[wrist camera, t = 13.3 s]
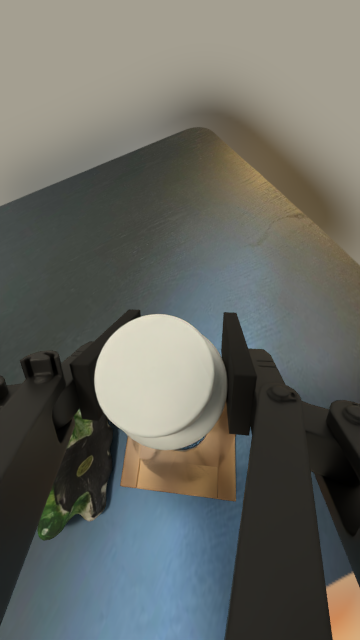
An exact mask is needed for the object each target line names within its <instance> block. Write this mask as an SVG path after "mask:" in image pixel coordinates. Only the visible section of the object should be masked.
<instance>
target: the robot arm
mask: <svg viewBox="0 0 360 640" xmlns="http://www.w3.org/2000/svg"><path fill="white" fill-rule="evenodd" d="M139 317H141V315H140V310H128V311H127V312H126V313H125V314H124V315H122V316H121V317H120V318H119V319H118V320H117V321H116V322H115V323H114V324H113V325H112V326H110V327H109V328H108V329H107V330H106V331H105V332H104V333H103V334H102V335H101V336H100V337H98V338H97V339H96V340H95V341H94V342H88V343H86V344H84V345H82V346H81V347H80V348H79V349H77V350H76V352H74V353H73V354H72V355H71V356H69V357H68V358H67V359H66V360H65V361H64V362H62V363H61V362H60V358H59V354H58V353H57V352H55V351H40V352H36V353H33V354H30V355H28V356H26V357H24V358H23V359H21V360H20V363H21V366H22V369H23V372H24V375H25V378H26V380H25V381H24V382H23V383H22V384H15V385H6V382H5V379H4V378H3V377H2V376H0V625H1V622H2V620H3V617H4V614H5V612H6V609H7V606H8V604H9V601H10V598H11V596H12V593H13V590H14V588H15V585H16V582H17V580H18V577H19V574H20V572H21V569H22V566H23V564H24V561H25V558H26V556H27V553H28V550H29V548H30V545H31V542H32V540H33V537H34V534H35V532H36V529H37V526H38V524H39V521H40V518H41V516H42V513H43V510H44V508H45V505H46V502H47V500H48V497H49V494H50V491H51V489H52V486H53V483H54V481H55V478H56V475H57V473H58V470H59V467H60V465H61V462H62V459H63V457H64V454H65V451H66V449H67V446H68V443H69V441H70V438H71V435H72V433H73V430H74V427H75V419H74V415H75V414H76V413H77V411H78V410H79V409H80V413H81V417H82V419H84V420H95V421H99V420H100V418H101V416H102V415H103V413H104V412H103V410H102V408H101V407H100V405H99V402H98V399H97V395H96V392H95V384H94V377H95V369H96V364H97V360H98V357H99V355H100V353H101V351H102V348H103V347H104V345H105V344H106V342H107V341H108V339H109V338H110V337H111V336H112V335H113V334H114V333H115V332H116V331H117V330H118V329H119V328H120V327H122V326H123V325H125V324H126V323H128V322H130V321H132V320H134V319H136V318H139ZM221 352H222V360H223V362H224V365H225V368H226V373H227V379H228V390H227V398H226V406H227V417H228V428H229V434H238V435H248V436H249V432H250V426H251V431H252V441H251V448H250V455H249V463H248V470H247V478H246V485H245V492H244V500H243V507H242V514H241V521H240V529H239V536H238V543H237V551H236V558H235V565H234V573H233V580H232V587H231V595H230V602H229V609H228V617H227V624H226V631H225V639H224V640H333V639H332V632H331V625H330V616H329V609H328V602H327V594H326V585H325V578H324V570H323V562H322V555H321V547H320V539H319V532H318V524H317V516H316V509H315V501H314V493H313V485H312V478H311V471H312V472H314V475H315V477H316V480H317V482H318V485H319V487H320V490H321V492H322V495H323V497H324V500H325V502H326V505H327V507H328V510H329V512H330V515H331V517H332V520H333V522H334V525H335V527H336V530H337V532H338V535H339V537H340V540H341V542H342V545H343V547H344V550H345V552H346V555H347V557H348V560H349V562H350V564H351V567H352V569H353V572H354V574H355V577H356V579H357V582H358V584H359V587H360V404H358V403H355V402H351V401H346V400H337V401H335V402H332V403H331V406H330V409H325V408H322V407H318V406H315V405H311V404H308V403H306V402H303V401H301V398H300V396H299V394H298V393H297V392H296V391H295V390H294V389H292V388H290V387H289V386H286V385H285V383H284V381H283V379H282V377H281V375H280V373H279V371H278V369H277V368H276V365H275V363H274V361H273V359H272V357H271V355H270V354H269V353H267V352H266V351H265V350H264V349H248V347H247V344H246V341H245V338H244V335H243V332H242V329H241V326H240V323H239V320H238V317H237V314H236V313H227V312H224V317H223V333H222V349H221Z"/></svg>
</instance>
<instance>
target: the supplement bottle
mask: <svg viewBox="0 0 360 640" xmlns="http://www.w3.org/2000/svg"><path fill="white" fill-rule="evenodd" d="M94 384H95V392H96V395H97V399H98V402H99V405H100V407H101V408H102V410H103V412H104V414H105V415H106V416H107V417H108V419H109V420H110V421H111V422H112V423H113V424H115V425H116V426H117V427H118V428H120V429H121V430H123V431H124V432H125V433H126V434H127V435H128V436H129V437H130V438H131V439H133V440H134V441H136V442H138V443H139V444H141V445H144V446H146V447H149V448H153V449H158V450H175V449H180V448H183V447H186V446H189V445H191V444H193V443H195V442H196V441H198V440H200V439H201V438H202V437H204V436H205V435H206V434H208V433H209V432H210V430H211V429H212V428H213V427H214V425H215V424H216V422H217V421H218V419H219V418H220V416H221V414H222V411H223V409H224V406H225V403H226V398H227V390H228V379H227V373H226V368H225V365H224V362H223V360H222V358H221V356H220V354H219V352H218V351H217V349H216V348H215V346H214V345H213V344H212V343H211V342H210V341H209V340H208V339H207V338H206V337H204V336H203V335H202V334H200V332H199V331H198V330H197V329H195V328H194V327H193V326H192V325H191V324H189V323H188V322H186V321H184V320H182V319H180V318H177V317H174V316H169V315H164V314H154V315H146V316H142V317H139V318H136V319H134V320H132V321H130V322H128V323H126V324H125V325H123V326H122V327H120V328H119V329H118V330H117V331H116V332H115V333H114V334H113V335H112V336H111V337H110V338H109V339H108V341H107V342H106V344H105V345H104V347H103V348H102V351H101V353H100V355H99V357H98V360H97V364H96V369H95V377H94Z"/></svg>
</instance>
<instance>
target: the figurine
mask: <svg viewBox="0 0 360 640" xmlns="http://www.w3.org/2000/svg"><path fill="white" fill-rule="evenodd" d="M74 419H75V427H74V430H73V433H72V435H71V438H70V441H69V443H68V446H67V449H66V451H65V454H64V457H63V459H62V462H61V465H60V467H59V470H58V473H57V475H56V478H55V481H54V483H53V486H52V489H51V491H50V494H49V497H48V500H47V502H46V505H45V508H44V510H43V513H42V516H41V518H40V521H39V524H38V535H39V537H40V538H41V539H42V540H50V539H52V538H54V537H55V536H57V535H58V534H59V533H60V532H61V531H62V530H63V528H64V527H65V525H66V523H67V522H68V521H69V520H70V519H71V518H72V517H73V516H74V515H75V514H80V515H81V516H82V517H83V518H84V519H85V520H88V521H93V520H94V519H95V518H97V517H98V515H100V514H101V513H102V512H103V510H104V508H105V506H106V486H107V482H108V479H109V476H110V474H111V471H112V457H111V455H110V446H111V442H112V437H113V430H112V428H111V427H110V426H109V425H108V421H107V416H106V415H105V414H104V413H103V415H102V416H101V418H100V420H99V421H95V420H84V419H82V417H81V413H80V409H79V410H78V411H77V413H76V414H75V415H74Z"/></svg>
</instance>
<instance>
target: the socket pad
mask: <svg viewBox="0 0 360 640" xmlns="http://www.w3.org/2000/svg"><path fill="white" fill-rule="evenodd" d="M235 435H236V434H229V428H228V417H227V406H226V403H225V406H224V409H223V411H222V414H221V416H220V418H219V419H218V421H217V422H216V424H215V425H214V427H213V428H212V429H211V430H210V432H209V433H208V434H206V435H205V438H204V439H203V440H202V441H201V442H200V443H199V444H198V445H197V446H195V447H192V448H189V449H187V450H183V449H175V450H158V449H153V448H149V447H146V446H144V445H141V444H139V443H138V442H136V441H134V440H133V439H131V438H130V437H129V436H128V439H127V445H126V452H125V458H124V465H123V471H122V477H121V484H120V486H123V487H131V488H138V489H146V490H153V491H161V492H169V493H176V494H184V495H191V496H199V497H206V498H214V499H217V498H218V499H221V500H228V501H236V473H235Z"/></svg>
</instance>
